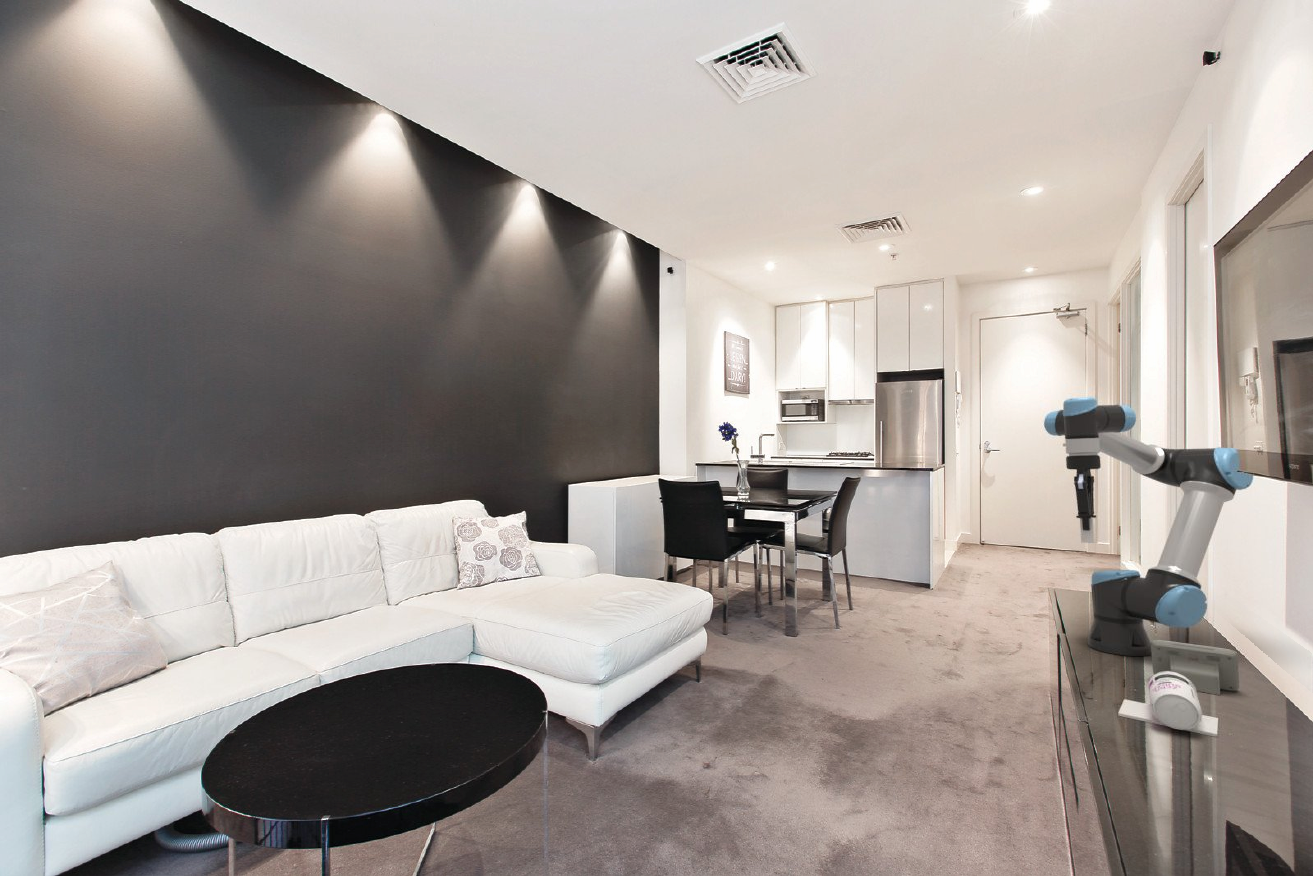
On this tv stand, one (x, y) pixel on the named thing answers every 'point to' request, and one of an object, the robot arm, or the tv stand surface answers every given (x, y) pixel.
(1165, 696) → the supplement can
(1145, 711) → the mat
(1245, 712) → the tv stand surface
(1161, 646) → the digital clock
